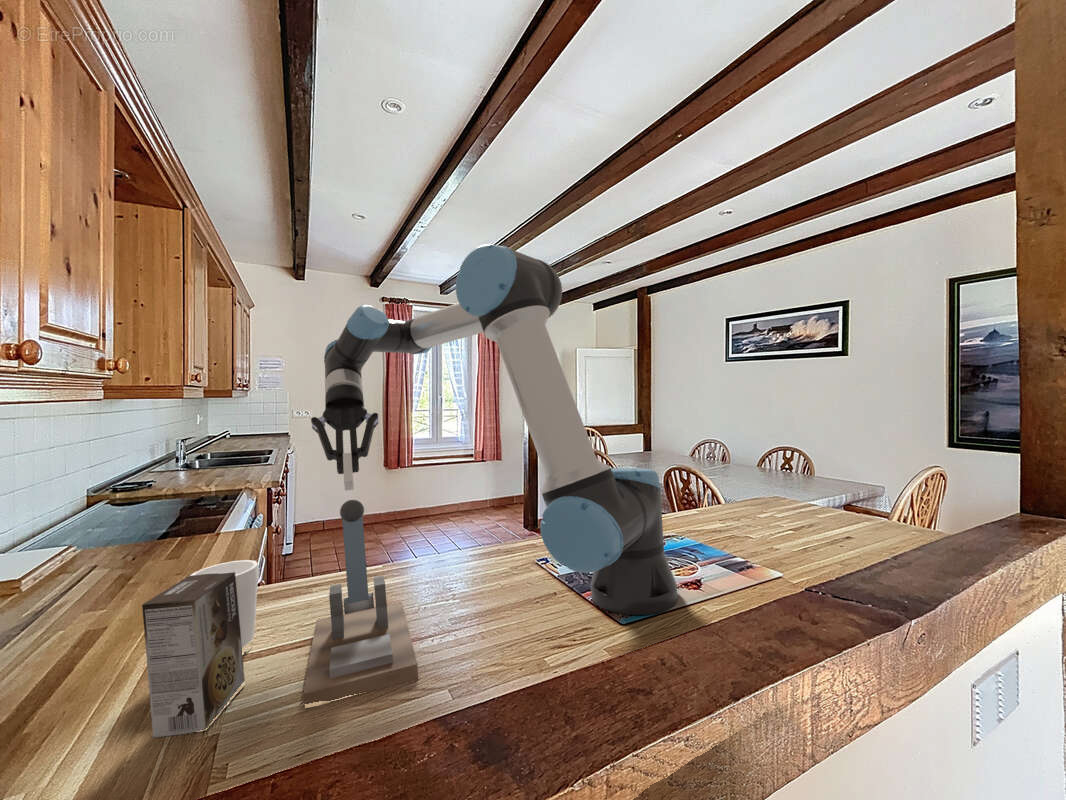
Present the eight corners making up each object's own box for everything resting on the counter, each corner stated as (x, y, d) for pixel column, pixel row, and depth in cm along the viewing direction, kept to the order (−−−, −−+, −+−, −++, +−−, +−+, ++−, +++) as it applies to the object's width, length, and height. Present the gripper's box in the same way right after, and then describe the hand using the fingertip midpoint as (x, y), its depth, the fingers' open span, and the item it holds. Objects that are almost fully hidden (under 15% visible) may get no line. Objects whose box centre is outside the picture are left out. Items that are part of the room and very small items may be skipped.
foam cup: (229, 670, 69) (223, 583, 69) (178, 667, 71) (171, 582, 71) (277, 637, 79) (271, 560, 78) (230, 635, 80) (224, 559, 80)
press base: (317, 631, 80) (313, 578, 80) (402, 612, 85) (398, 562, 84) (304, 709, 59) (298, 638, 59) (418, 678, 64) (413, 612, 64)
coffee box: (197, 691, 65) (188, 574, 64) (246, 686, 65) (237, 570, 65) (149, 739, 56) (138, 603, 55) (207, 732, 56) (196, 598, 56)
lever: (345, 609, 76) (336, 500, 76) (373, 603, 78) (365, 496, 78) (344, 618, 73) (336, 504, 73) (374, 612, 75) (366, 500, 74)
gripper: (376, 405, 106) (386, 492, 90) (312, 409, 101) (311, 502, 86) (376, 380, 100) (386, 468, 85) (308, 384, 96) (306, 477, 81)
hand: (348, 485), depth 85 cm, fingers closed
